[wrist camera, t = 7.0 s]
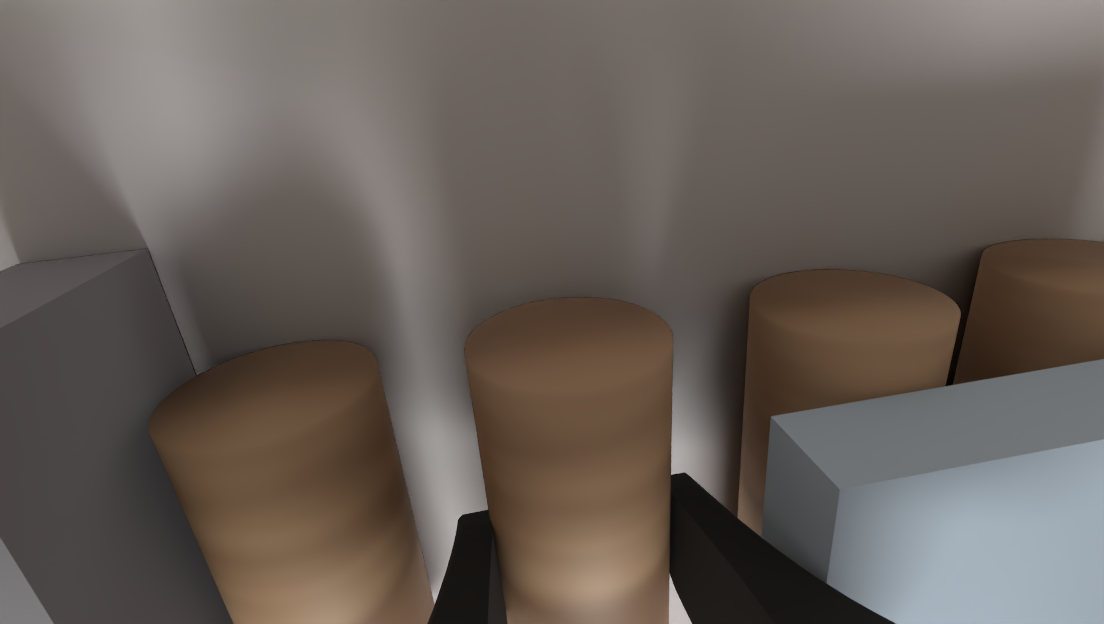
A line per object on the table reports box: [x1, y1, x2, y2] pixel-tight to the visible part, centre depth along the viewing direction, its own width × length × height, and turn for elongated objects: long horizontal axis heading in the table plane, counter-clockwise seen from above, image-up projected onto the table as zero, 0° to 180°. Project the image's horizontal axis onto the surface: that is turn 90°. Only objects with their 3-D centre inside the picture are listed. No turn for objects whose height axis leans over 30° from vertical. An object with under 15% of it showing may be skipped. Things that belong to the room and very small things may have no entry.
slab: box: [761, 359, 1104, 624], centre depth 11 cm, size 7×12×2 cm, turn 95°
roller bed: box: [148, 239, 1104, 624], centre depth 14 cm, size 9×28×4 cm, turn 95°
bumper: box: [0, 249, 233, 624], centre depth 11 cm, size 14×2×6 cm, turn 5°
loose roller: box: [464, 297, 673, 624], centre depth 12 cm, size 9×4×4 cm, turn 4°
